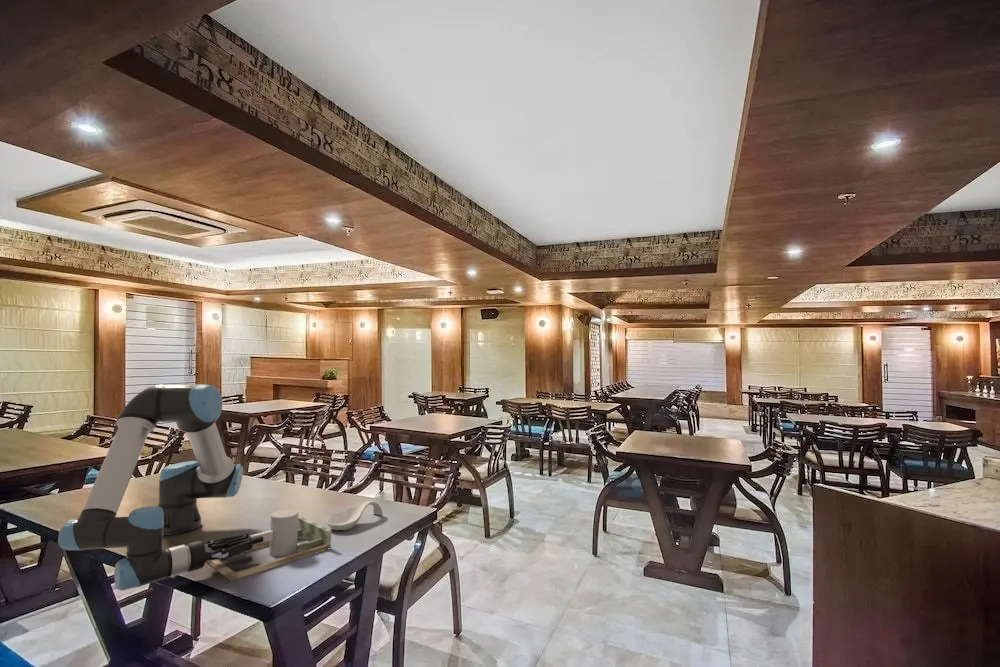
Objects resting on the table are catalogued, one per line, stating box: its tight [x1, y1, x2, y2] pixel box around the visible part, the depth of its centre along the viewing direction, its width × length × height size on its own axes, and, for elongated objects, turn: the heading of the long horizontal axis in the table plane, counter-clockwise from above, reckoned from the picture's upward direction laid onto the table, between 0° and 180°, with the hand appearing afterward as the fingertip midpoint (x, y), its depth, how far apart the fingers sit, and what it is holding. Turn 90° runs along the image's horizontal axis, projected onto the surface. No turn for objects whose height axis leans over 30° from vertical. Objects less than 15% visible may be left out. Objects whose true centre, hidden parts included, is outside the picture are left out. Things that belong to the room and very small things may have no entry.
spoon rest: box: [326, 499, 383, 531], centre depth 180 cm, size 24×12×7 cm, turn 149°
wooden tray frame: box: [205, 516, 332, 582], centre depth 150 cm, size 19×30×6 cm, turn 140°
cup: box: [268, 509, 299, 557], centre depth 153 cm, size 8×8×12 cm
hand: (271, 534), depth 150 cm, fingers closed
